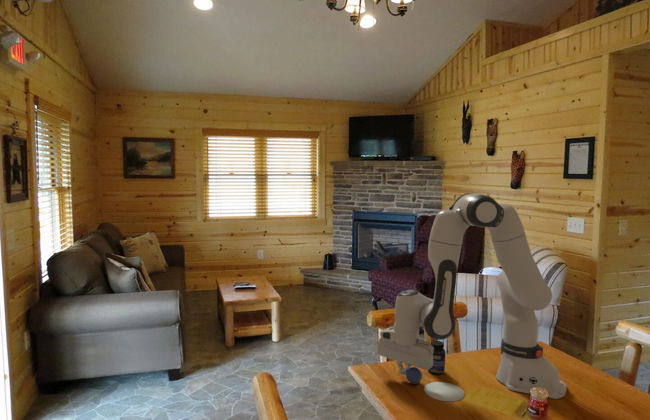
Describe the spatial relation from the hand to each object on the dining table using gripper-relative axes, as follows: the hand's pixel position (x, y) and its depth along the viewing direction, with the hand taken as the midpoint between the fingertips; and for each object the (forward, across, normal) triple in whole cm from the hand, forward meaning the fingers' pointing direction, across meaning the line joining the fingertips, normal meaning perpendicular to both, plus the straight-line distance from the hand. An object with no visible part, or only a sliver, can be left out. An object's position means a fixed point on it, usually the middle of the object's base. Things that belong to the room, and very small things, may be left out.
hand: (403, 373), depth 160 cm
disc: (+2, -15, 0) cm, 15 cm away
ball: (-1, -4, 0) cm, 4 cm away
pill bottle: (+2, -7, -13) cm, 15 cm away
